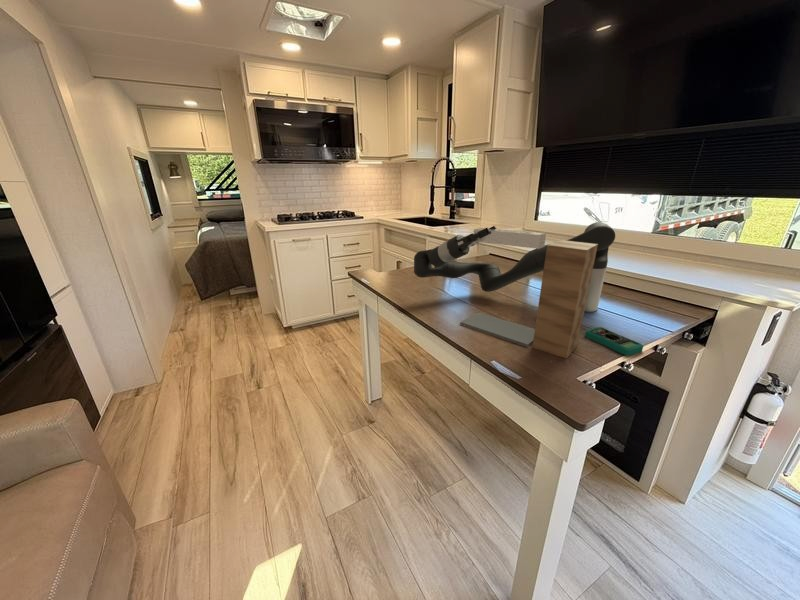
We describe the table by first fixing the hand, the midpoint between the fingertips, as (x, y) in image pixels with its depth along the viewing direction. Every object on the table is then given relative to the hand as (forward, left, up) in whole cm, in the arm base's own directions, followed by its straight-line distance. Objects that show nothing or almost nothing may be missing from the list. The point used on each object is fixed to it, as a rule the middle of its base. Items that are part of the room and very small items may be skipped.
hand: (492, 229), depth 105 cm
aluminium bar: (0, +5, -4) cm, 7 cm away
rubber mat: (0, +6, -34) cm, 34 cm away
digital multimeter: (-14, +37, -34) cm, 53 cm away
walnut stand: (0, +25, -34) cm, 42 cm away
